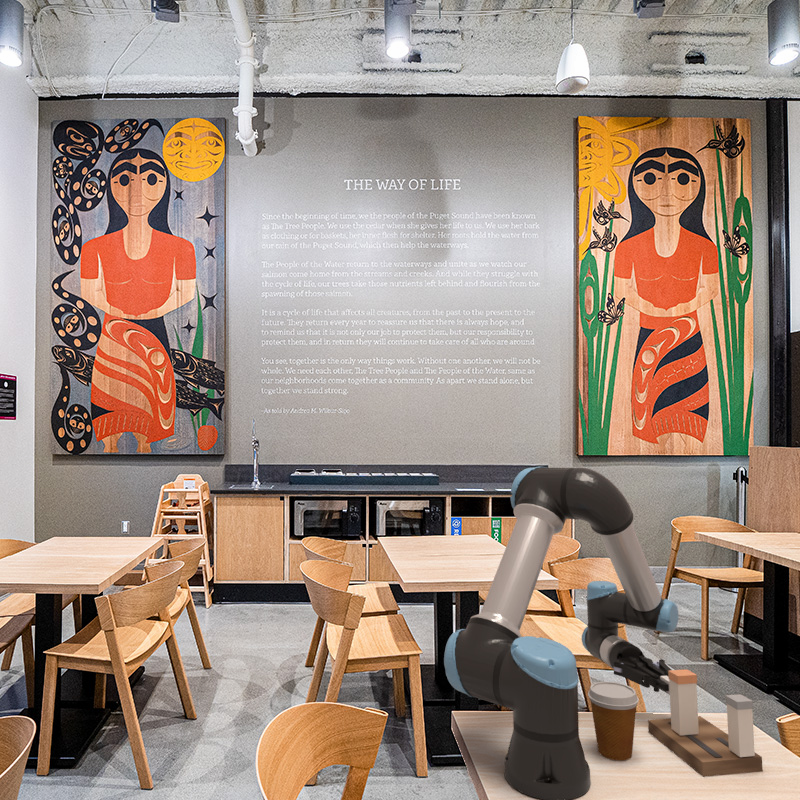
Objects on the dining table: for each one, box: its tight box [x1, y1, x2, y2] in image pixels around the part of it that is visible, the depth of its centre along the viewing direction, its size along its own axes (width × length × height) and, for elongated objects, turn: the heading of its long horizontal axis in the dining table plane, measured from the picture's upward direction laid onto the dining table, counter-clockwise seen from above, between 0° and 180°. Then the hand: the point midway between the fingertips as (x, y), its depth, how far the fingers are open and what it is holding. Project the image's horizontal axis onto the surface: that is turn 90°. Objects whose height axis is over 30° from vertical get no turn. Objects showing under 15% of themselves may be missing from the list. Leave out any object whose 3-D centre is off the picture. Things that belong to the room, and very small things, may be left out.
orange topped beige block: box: [668, 669, 699, 736], centre depth 124 cm, size 3×4×11 cm
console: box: [647, 715, 764, 777], centre depth 121 cm, size 18×12×4 cm, turn 9°
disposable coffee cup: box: [587, 681, 640, 762], centre depth 121 cm, size 10×10×12 cm
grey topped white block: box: [725, 694, 756, 757], centre depth 115 cm, size 3×3×10 cm
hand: (681, 693), depth 125 cm, fingers closed
